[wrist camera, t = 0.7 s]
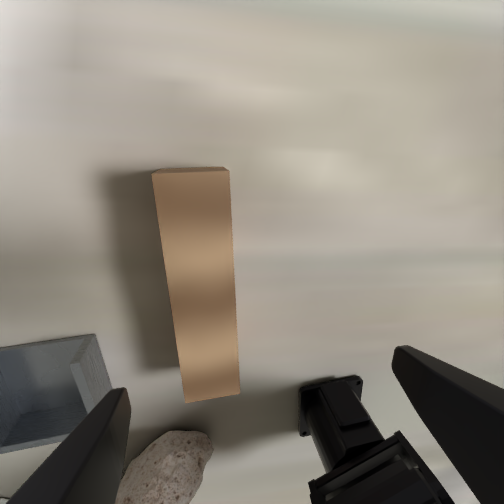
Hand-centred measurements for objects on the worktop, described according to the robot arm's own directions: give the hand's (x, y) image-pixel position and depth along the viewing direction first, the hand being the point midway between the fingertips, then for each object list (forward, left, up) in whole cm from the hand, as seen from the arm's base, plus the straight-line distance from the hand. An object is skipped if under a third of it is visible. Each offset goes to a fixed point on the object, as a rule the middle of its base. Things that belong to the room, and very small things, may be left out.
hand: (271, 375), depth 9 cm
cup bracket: (-9, +14, -12) cm, 21 cm away
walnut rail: (-2, +2, -12) cm, 13 cm away
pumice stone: (-22, +9, -13) cm, 27 cm away
